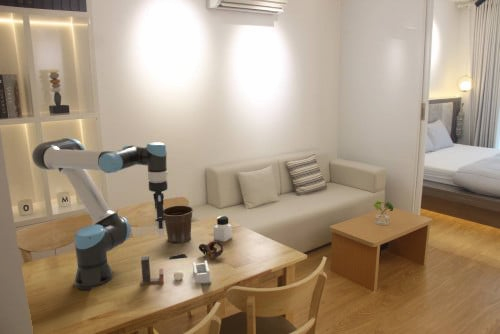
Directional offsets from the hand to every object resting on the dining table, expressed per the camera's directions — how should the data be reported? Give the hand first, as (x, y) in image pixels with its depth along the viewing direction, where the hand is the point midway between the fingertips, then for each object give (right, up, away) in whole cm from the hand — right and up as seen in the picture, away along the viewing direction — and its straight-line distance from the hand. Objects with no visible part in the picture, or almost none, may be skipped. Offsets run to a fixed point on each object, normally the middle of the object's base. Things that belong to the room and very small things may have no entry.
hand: (159, 229), depth 168 cm
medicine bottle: (+24, -12, +45) cm, 53 cm away
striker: (-3, -22, -2) cm, 22 cm away
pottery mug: (+19, -17, +25) cm, 36 cm away
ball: (+8, -19, -1) cm, 21 cm away
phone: (+6, -19, +18) cm, 27 cm away
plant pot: (0, -12, +45) cm, 47 cm away
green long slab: (+6, -22, 0) cm, 23 cm away
